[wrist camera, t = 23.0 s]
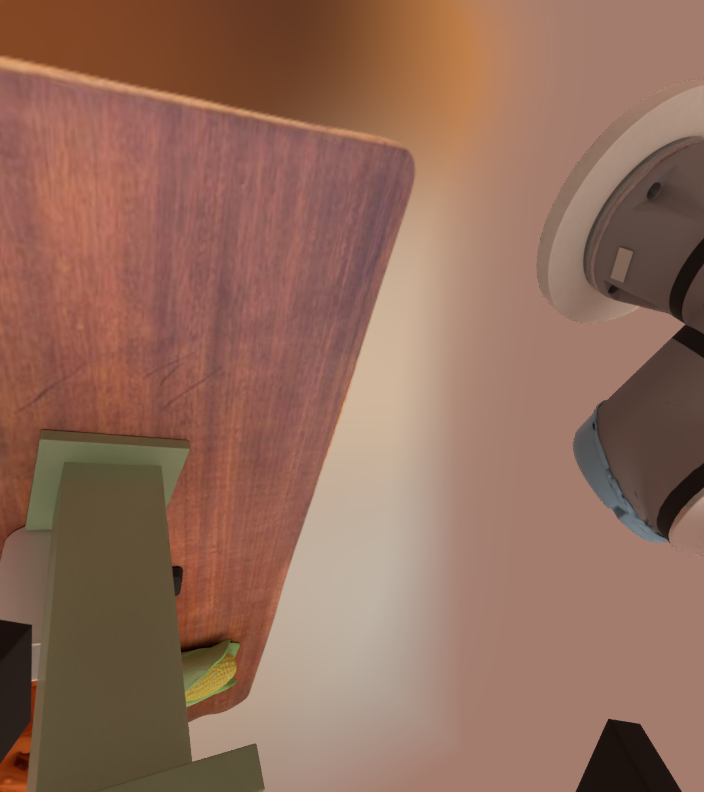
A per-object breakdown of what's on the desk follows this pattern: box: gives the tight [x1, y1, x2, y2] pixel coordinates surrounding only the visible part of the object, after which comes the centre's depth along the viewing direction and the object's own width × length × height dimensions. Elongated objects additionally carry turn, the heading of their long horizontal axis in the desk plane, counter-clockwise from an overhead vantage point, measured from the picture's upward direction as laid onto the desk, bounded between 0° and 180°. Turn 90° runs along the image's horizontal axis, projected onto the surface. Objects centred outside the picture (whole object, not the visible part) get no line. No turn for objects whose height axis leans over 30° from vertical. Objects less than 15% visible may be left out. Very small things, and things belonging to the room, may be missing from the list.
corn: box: [181, 639, 240, 707], centre depth 71 cm, size 8×8×20 cm
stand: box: [25, 430, 265, 792], centre depth 34 cm, size 17×12×29 cm
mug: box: [0, 527, 52, 682], centre depth 43 cm, size 10×7×12 cm, turn 108°
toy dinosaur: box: [0, 680, 37, 792], centre depth 55 cm, size 11×11×18 cm
